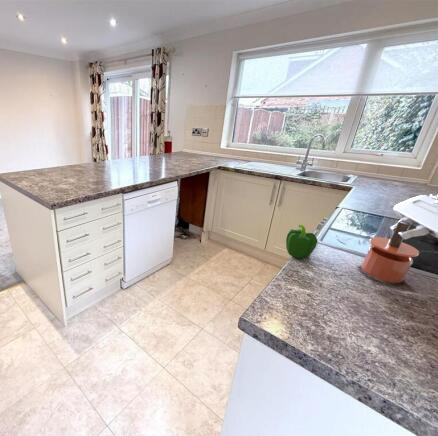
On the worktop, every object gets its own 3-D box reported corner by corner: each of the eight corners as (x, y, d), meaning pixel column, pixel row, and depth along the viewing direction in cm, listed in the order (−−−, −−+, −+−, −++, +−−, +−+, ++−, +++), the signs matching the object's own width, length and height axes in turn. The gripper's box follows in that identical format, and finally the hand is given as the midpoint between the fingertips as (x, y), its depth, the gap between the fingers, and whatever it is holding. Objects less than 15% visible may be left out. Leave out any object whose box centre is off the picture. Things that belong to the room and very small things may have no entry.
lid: (403, 244, 72) (416, 218, 69) (426, 262, 63) (442, 233, 60) (362, 238, 75) (372, 213, 72) (378, 254, 66) (391, 227, 63)
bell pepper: (314, 264, 76) (324, 235, 72) (284, 258, 79) (293, 230, 75) (308, 251, 84) (317, 224, 80) (281, 246, 86) (288, 220, 82)
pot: (391, 269, 75) (401, 249, 72) (409, 287, 67) (421, 265, 64) (355, 262, 78) (363, 243, 75) (368, 279, 70) (378, 258, 67)
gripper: (423, 184, 70) (370, 212, 76) (493, 208, 52) (415, 241, 58) (435, 201, 71) (381, 227, 77) (508, 230, 53) (430, 260, 59)
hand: (396, 233), depth 67 cm, fingers closed on lid, 2 cm apart
